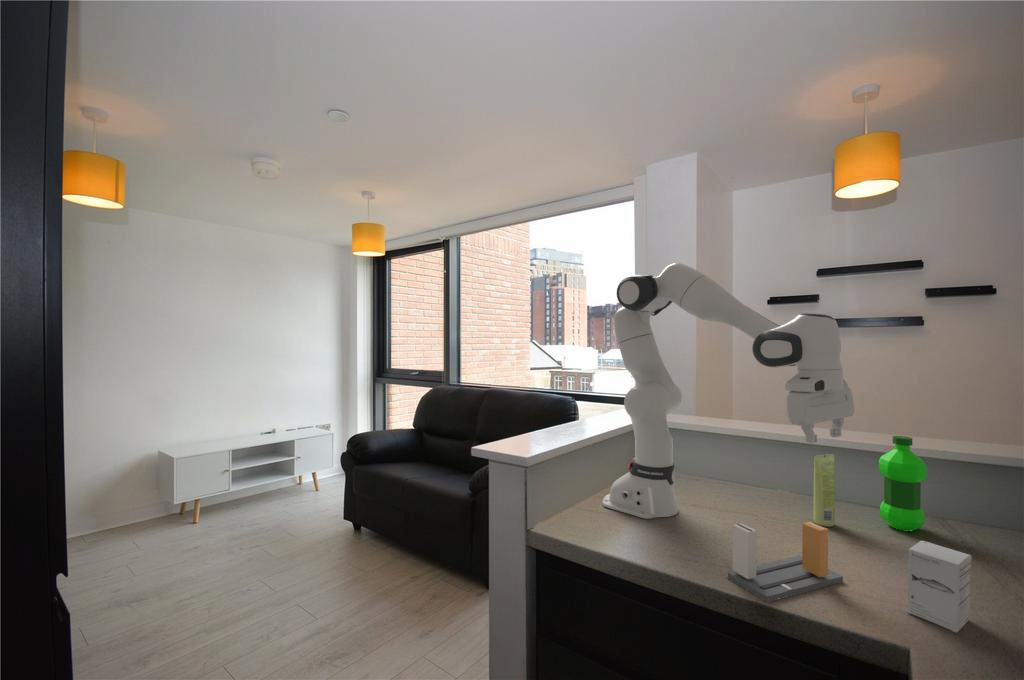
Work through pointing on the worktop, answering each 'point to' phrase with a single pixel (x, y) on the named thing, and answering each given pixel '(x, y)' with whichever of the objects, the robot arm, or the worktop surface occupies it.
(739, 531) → the fader white
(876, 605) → the worktop surface
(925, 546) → the supplement box
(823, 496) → the tube
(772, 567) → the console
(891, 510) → the plastic bottle
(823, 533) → the fader orange
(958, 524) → the worktop surface
